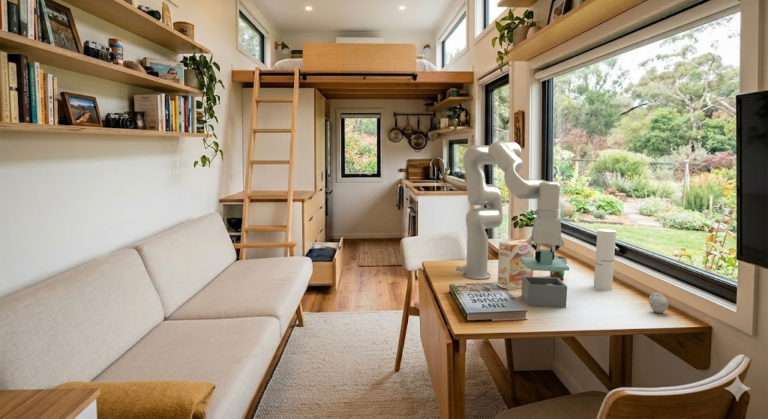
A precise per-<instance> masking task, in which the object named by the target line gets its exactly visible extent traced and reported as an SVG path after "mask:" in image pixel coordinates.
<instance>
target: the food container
mask: <svg viewBox="0 0 768 419" xmlns="http://www.w3.org/2000/svg"><path fill="white" fill-rule="evenodd" d="M554 259H560V260H561V261H563V262H564V263H565V264H566V265H567V264H568V261H567V260H568V259H567V258H566V257H565V256H563V255H557V254H554ZM565 271H566V270H562V272H560V271H549V274H550V276H549V278H559V279H560V280H561V281H562V282H564V279H565Z"/></svg>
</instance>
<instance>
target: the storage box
mask: <svg viewBox="0 0 768 419" xmlns="http://www.w3.org/2000/svg"><path fill="white" fill-rule="evenodd" d="M567 297H568V286H567V284H565V283H564V281H561V280H560V279H559V278H551V277H550V276H549V277H544V276H542V277H541V276H533V277H523V276H522V288H521V298H522V300H523V301H524V302H525V304H526V306H528V307H531V306H532V307H550V308H551V307H552V308H567V301H568V300H567Z"/></svg>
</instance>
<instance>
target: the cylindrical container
mask: <svg viewBox="0 0 768 419" xmlns="http://www.w3.org/2000/svg"><path fill="white" fill-rule="evenodd" d="M596 230H597V232H596V233H597V234H596V243H595V244H596V247H595V259H594V260H595V262H594V275H593V288H594V289H596V290H598V291H604V292H605V291H607V292H608V291H612V290H613V278H614V277H613V276H614V265H615V250H616V239H617V230H614V229H609V228H608V229H607V228H600V229H596Z"/></svg>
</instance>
